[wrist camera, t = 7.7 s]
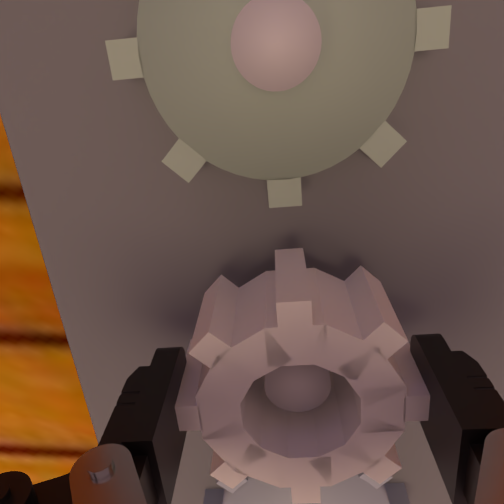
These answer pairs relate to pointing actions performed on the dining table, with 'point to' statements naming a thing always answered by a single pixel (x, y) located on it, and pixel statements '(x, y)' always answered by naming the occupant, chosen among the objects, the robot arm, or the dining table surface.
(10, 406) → the dining table surface
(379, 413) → the gear
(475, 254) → the gear board
